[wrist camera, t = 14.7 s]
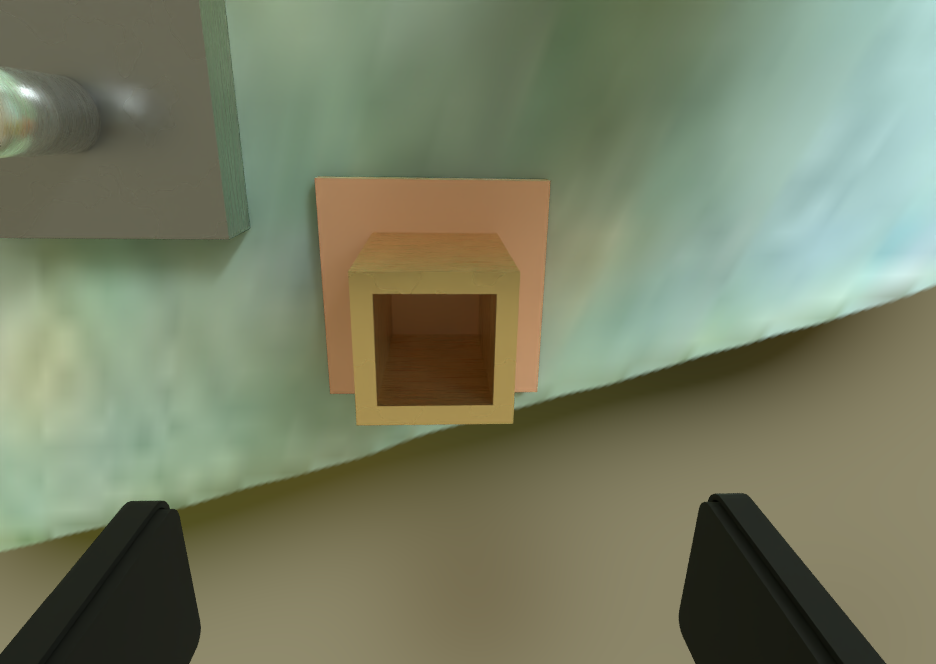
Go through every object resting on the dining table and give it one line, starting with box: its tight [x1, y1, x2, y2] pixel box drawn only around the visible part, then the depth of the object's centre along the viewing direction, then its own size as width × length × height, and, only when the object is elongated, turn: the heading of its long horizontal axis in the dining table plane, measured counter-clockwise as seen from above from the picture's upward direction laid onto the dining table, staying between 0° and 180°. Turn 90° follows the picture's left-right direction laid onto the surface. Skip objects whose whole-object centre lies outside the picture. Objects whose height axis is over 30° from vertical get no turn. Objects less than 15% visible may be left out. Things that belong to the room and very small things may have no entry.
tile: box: [315, 176, 550, 394], centre depth 29 cm, size 11×11×1 cm
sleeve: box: [348, 232, 520, 425], centre depth 24 cm, size 6×6×8 cm
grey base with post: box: [0, 0, 250, 239], centre depth 21 cm, size 12×10×10 cm
